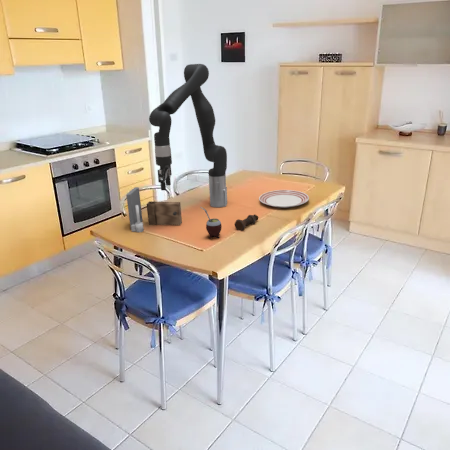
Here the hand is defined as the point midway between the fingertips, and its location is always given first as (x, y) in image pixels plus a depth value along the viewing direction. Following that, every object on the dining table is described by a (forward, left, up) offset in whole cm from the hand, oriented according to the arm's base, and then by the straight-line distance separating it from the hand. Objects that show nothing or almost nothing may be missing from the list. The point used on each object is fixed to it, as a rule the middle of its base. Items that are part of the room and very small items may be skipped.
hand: (166, 187), depth 208 cm
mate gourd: (-25, +15, -19) cm, 35 cm away
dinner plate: (-56, -36, -19) cm, 69 cm away
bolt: (-40, 0, -19) cm, 44 cm away
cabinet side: (+14, +4, -19) cm, 24 cm away
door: (+2, 0, -19) cm, 19 cm away
